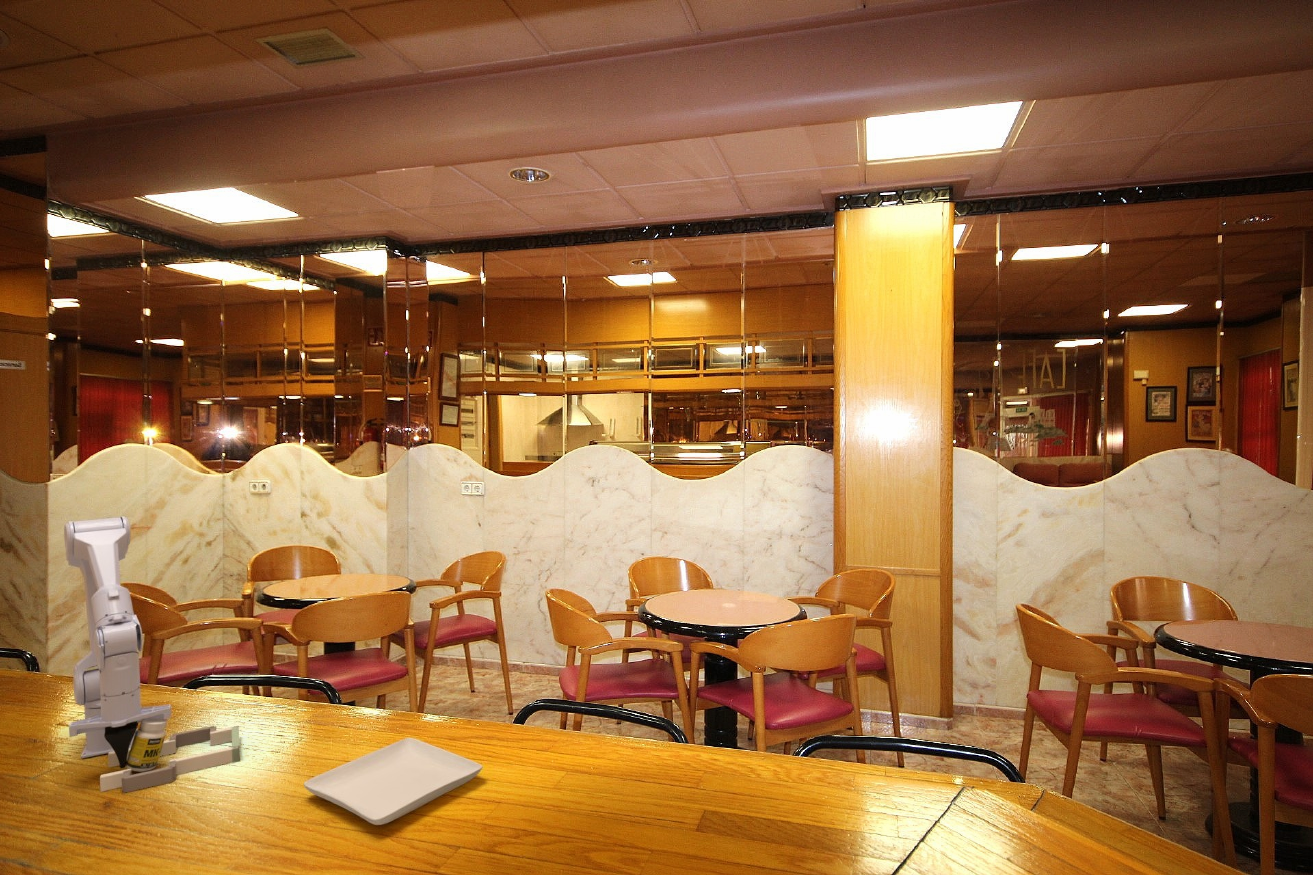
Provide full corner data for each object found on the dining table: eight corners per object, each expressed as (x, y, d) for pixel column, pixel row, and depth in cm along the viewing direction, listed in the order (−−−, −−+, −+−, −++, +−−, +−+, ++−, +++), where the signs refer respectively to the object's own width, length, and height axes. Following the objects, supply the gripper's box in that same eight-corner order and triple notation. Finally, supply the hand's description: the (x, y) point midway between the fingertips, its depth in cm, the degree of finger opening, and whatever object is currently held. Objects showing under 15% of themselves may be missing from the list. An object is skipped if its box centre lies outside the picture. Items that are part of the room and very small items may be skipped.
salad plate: (409, 751, 138) (409, 733, 138) (486, 783, 126) (485, 763, 126) (300, 801, 121) (299, 781, 121) (377, 843, 108) (376, 820, 108)
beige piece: (111, 758, 136) (111, 746, 136) (238, 732, 147) (238, 720, 147) (98, 798, 122) (97, 784, 122) (240, 766, 132) (239, 753, 132)
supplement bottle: (139, 774, 129) (153, 726, 130) (118, 766, 130) (132, 719, 131) (162, 766, 133) (176, 720, 134) (142, 758, 135) (155, 712, 135)
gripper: (64, 706, 123) (67, 786, 123) (167, 689, 130) (170, 764, 130) (72, 693, 129) (75, 769, 129) (170, 677, 136) (173, 748, 137)
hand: (123, 765), depth 130 cm, fingers closed, pressing on supplement bottle
